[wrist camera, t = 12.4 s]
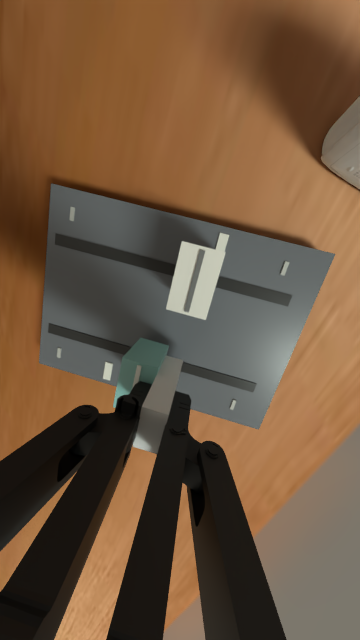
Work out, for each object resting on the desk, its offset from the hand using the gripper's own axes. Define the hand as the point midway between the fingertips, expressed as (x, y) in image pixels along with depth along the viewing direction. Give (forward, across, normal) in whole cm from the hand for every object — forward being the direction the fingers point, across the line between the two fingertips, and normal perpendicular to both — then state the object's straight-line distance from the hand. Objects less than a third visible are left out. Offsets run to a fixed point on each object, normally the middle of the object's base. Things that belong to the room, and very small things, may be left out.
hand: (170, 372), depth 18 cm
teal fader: (+1, -2, 0) cm, 2 cm away
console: (+4, -2, +4) cm, 6 cm away
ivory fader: (+1, 0, +8) cm, 8 cm away
